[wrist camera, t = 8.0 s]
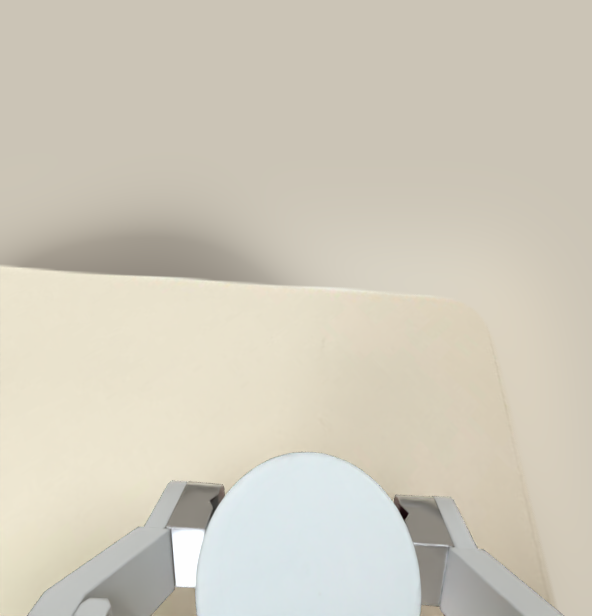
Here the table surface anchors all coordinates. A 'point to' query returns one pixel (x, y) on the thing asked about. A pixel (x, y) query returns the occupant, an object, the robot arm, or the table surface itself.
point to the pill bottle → (307, 545)
